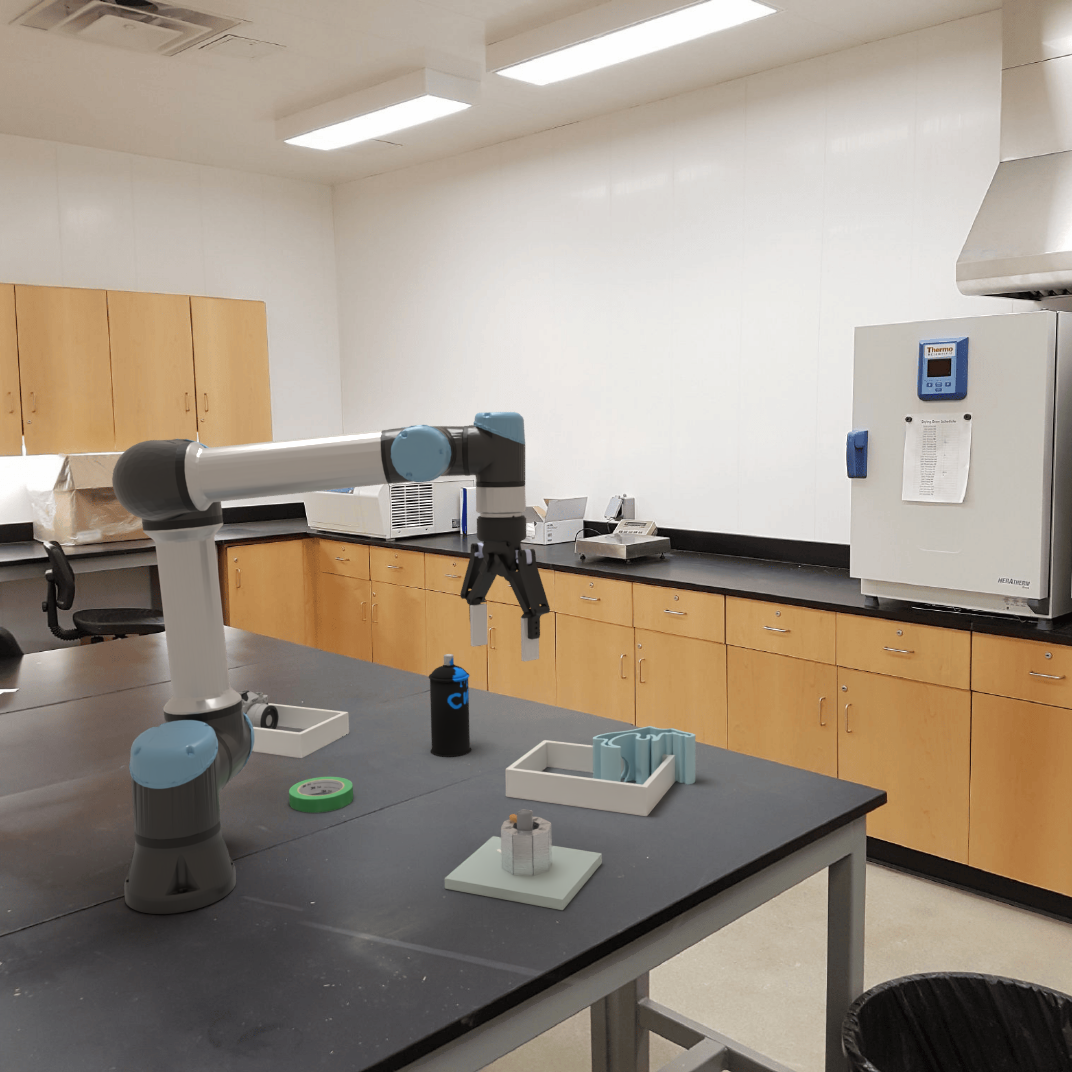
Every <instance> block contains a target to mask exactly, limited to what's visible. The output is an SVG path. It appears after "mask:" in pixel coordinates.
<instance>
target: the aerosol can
mask: <svg viewBox="0 0 1072 1072" xmlns="http://www.w3.org/2000/svg"><path fill="white" fill-rule="evenodd" d="M454 658H455V657H454V654H453V653H447V654H443V664H442V665H441V666H438V667H436V668H434V670H433V671H432V672H431V673H430V674H429V675H428V679H429V690H430V691H429V692H430V693H429V694H430V695H429V696H430V699H429V700H430V727H431V729H430V730H431V731H430V733H431V735H430V736H431V737H430V738H431V748H430V754H431V755H433V756H436V757H440V758H457V757H458V758H459V757H463V756H466V755H467V754H469V753H471V752H472V748H471V746H470V745H471V743H470V741H471V740H470V738H471V737H470V735H471V734H470V700H469V699H470V697H469V696H470V695H469V694H470V693H469V679H470V676H471V675H470V674H469V672H467V671H466V670H465V669H464V668H463V667H462V666H459V665H456V664H455V663H454Z"/></svg>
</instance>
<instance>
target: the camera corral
mask: <svg viewBox="0 0 1072 1072" xmlns="http://www.w3.org/2000/svg"><path fill="white" fill-rule="evenodd" d="M268 705H273V706H275V707H276V709H277V711H278V716H279V717H278V725H277V727H282V728H284V727H285V728H290V729H291V728H293V729H300V730H302V731H299V732H297V731H291V730H282V729H267V728H259V727H253V729H254V746H253V750H252V752H254V753H261V754H270V755H277V756H282V757H291V758H298V759H299V758H300V759H303V758H305V757H306V756H308V755H310V754H312V753H314V752H316V751H318V750H320V749H322V748H324V747H326V746H327V745H329V744H332V743H333V742H335V741H337V740H339V739H342V738H343V737H345V736H347V735H348V734H350V721H349V719H350V718H349V711H341V710H331V709H322V708H314V707H303V706H295V705H288V704H277V703H269V702H268ZM346 734H347V735H346ZM342 736H343V737H342Z"/></svg>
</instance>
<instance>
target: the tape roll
mask: <svg viewBox="0 0 1072 1072" xmlns="http://www.w3.org/2000/svg"><path fill="white" fill-rule="evenodd" d="M318 793H319V794H318ZM321 793H322V794H321ZM323 793H325V794H323ZM326 793H327V794H326ZM316 794H318V795H316ZM288 798H289V799H288V801H289V806H290V807H291V808H292V809H294V811H298V812H302V813H309V814H310V813H313V814H314V813H315V814H317V813H327V812H331V811H336V810H339V809H343V808H345V807H347V806H348V805H350V804H351V803H352V802H353V801H354V786H353V782H352V781H351V780H349V779H347V778H343V777H339V776H320V777H319V776H318V777H313V778H312V777H311V778H307V779H305V780H302V781H299V782H297V783H295V784H293V785H292V786H291V787H290V788H289V790H288Z"/></svg>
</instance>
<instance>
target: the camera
mask: <svg viewBox="0 0 1072 1072" xmlns="http://www.w3.org/2000/svg"><path fill="white" fill-rule="evenodd" d="M237 693H239V694H240V695H241V698H242V707H243V712H244V713H245V714H247V716H248V717H249V719H250V721H251V723H252V725H253V727H259V728H267V729H275V730H277V727H278V726H277V725H278V717H279V716H278V711H277V709H276V707H275V706H273V705H268V703H269V697H268V694H264V693H263V692H262V691H256V692H252V691H251V690H249V689H244V690H243V689H242V690H239V692H238V691H237Z"/></svg>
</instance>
